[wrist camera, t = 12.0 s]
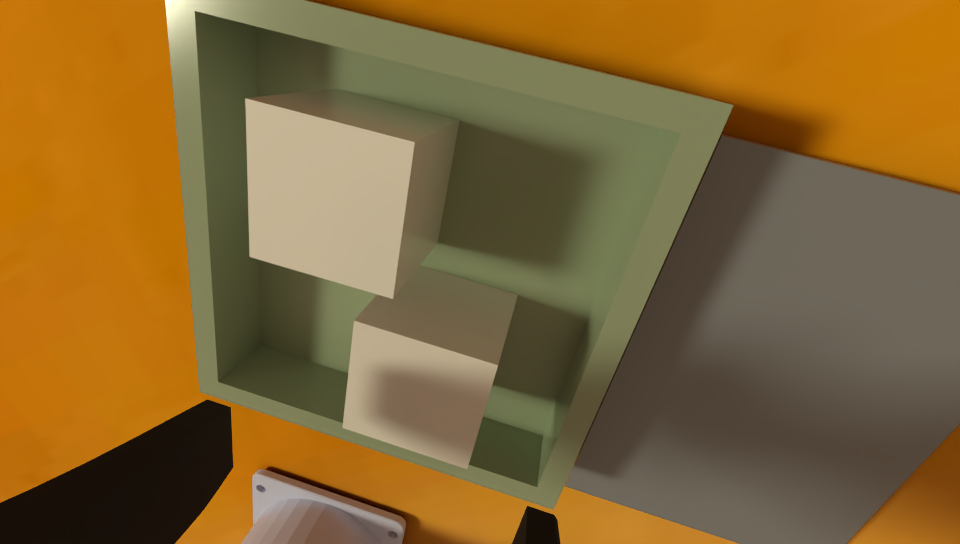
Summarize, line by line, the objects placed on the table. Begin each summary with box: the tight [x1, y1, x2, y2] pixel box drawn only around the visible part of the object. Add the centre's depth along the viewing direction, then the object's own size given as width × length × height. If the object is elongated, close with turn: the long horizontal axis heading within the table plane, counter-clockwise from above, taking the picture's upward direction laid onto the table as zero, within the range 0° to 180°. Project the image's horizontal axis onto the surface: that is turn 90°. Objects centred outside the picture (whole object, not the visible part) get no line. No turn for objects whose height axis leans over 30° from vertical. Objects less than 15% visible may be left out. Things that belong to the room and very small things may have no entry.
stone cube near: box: [245, 88, 460, 299], centre depth 13 cm, size 4×4×4 cm
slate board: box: [565, 133, 960, 544], centre depth 15 cm, size 14×10×1 cm
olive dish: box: [165, 0, 734, 509], centre depth 15 cm, size 14×14×3 cm
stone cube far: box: [342, 266, 518, 469], centre depth 15 cm, size 4×4×4 cm
